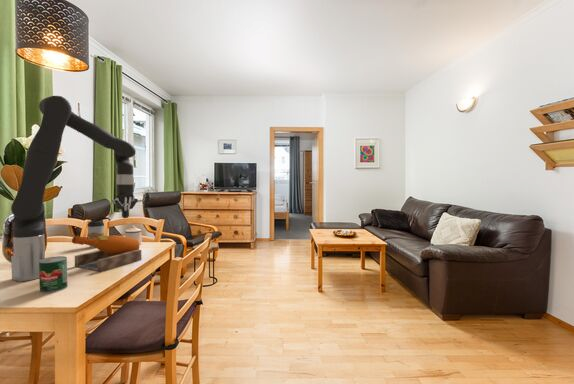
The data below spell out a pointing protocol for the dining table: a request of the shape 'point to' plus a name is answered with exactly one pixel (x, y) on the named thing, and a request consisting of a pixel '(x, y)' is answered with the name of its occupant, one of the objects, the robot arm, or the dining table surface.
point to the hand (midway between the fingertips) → (125, 217)
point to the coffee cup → (95, 230)
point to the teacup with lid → (134, 234)
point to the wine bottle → (110, 244)
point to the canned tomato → (53, 274)
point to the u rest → (105, 260)
